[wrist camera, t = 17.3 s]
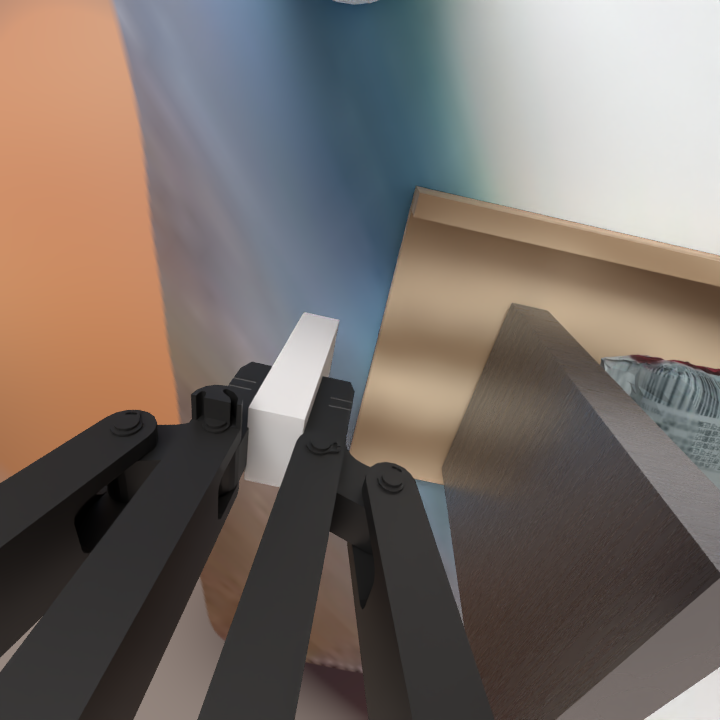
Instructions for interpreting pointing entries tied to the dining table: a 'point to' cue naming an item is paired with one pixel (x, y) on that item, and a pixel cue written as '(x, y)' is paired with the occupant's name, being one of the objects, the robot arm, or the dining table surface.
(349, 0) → the cup
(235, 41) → the dining table surface
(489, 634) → the bookend
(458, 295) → the wooden book rack
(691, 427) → the packaged food
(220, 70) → the dining table surface
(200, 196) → the dining table surface
